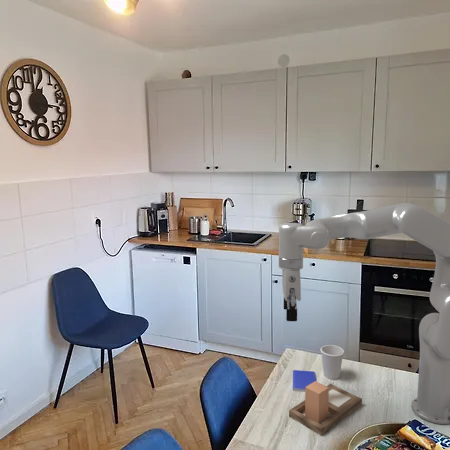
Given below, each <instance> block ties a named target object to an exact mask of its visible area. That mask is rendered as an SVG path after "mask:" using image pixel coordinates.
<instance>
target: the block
mask: <svg viewBox="0 0 450 450" xmlns="http://www.w3.org/2000/svg"><path fill="white" fill-rule="evenodd" d="M327 386H328V385H324V384H322V383H321V382H319V381H317V380H316V381H315V382H313V383H311V384H310V385H308V386H306V387H305V392H304V394H305V395H304V396H305V397H304V400H305V411H304V415H305V416H306V417H308V418H310V419H311V420H313V421H315V422H317V423H318V424H321V423H323V422H324V421H325V420H327V419H328V418H329V413H328V402H329V387H327Z"/></svg>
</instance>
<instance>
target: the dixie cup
mask: <svg viewBox="0 0 450 450" xmlns="http://www.w3.org/2000/svg"><path fill="white" fill-rule="evenodd" d="M319 350H320V353H321V363H322V371H323V376H324V377H325V378H327V379H329V380H337V379H339V378H340V377H341V376H340V375H341V368H342V363H343V356H344V353H345V350H344V349H343V348H342V347H340V346H339V345H334V344H328V345H327V344H326V345H322V346H321V347H320V349H319Z"/></svg>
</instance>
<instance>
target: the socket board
mask: <svg viewBox="0 0 450 450" xmlns="http://www.w3.org/2000/svg"><path fill="white" fill-rule="evenodd" d="M326 386H327V387H329V402H328V414H331V416H330V417H328V418H327V419H325V420H324V421H322V422H321V423H320V424H318V423H317V422H315V421H313V420H311V419H310V418H308V417H306V416H305V414H303V413H304V412H305V399H304V400H303V401H301V402H300V403H298V404H297V405H295V406H294V407H292V408H290V409H289V410H288V416H289V417H290V418H292V419H293V420H295V421H297V422H298V423H300V424H301V425H303V426H305V428H308V429H309V430H311V431H313V432H314V433H316V434H318V435H319V436H323V435H324V434H325V433H326V432H328V431H329V430H331V429H332V428H333V427H335V426H336V425H337V424H338V423H340V422H341V421H342V420H343V419H345V418H346V417H348V415H350V414H351V413H353V412H354V411H355V410H356V409H358V408H360V407H361V406H362V405H363V398H361V397H359V396H358V395H357V396H356V395H355V394H352V393H351V392H348V391H347V390H344V389H342V388H340V387H338V386H336V385H334V384H332V383H330V384H328V385H326Z"/></svg>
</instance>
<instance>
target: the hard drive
mask: <svg viewBox="0 0 450 450" xmlns="http://www.w3.org/2000/svg"><path fill="white" fill-rule="evenodd" d="M315 381H316V382H317V380H316V371H311V370H298V369H293V370H292V391H293V392H301V393H302V392H304V393H305V387H306V386H308V385H310V384H311V383H313V382H315Z"/></svg>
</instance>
